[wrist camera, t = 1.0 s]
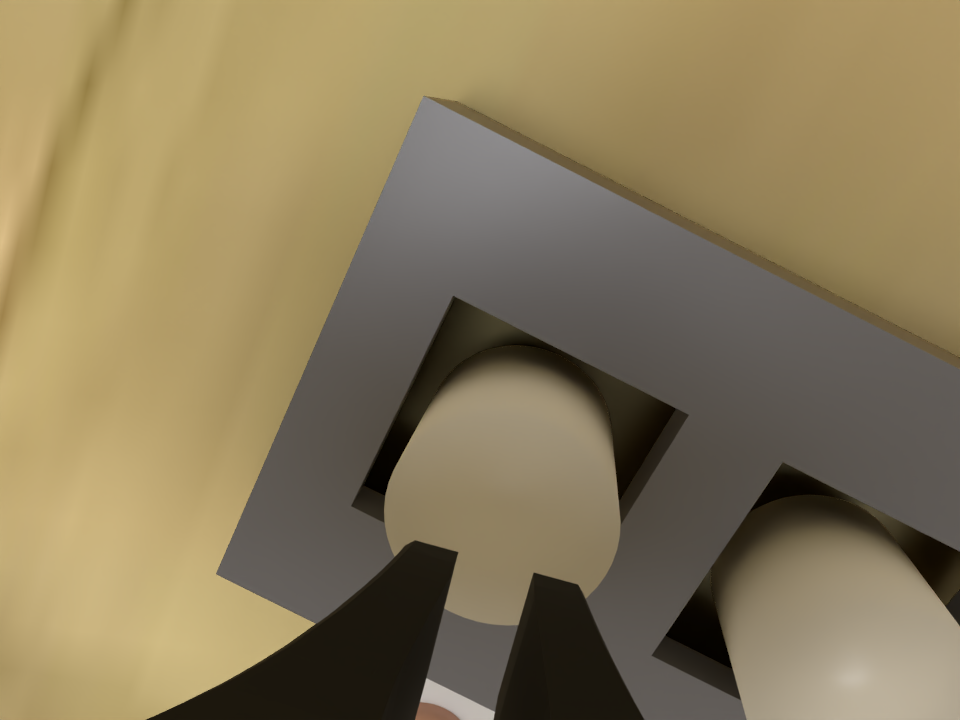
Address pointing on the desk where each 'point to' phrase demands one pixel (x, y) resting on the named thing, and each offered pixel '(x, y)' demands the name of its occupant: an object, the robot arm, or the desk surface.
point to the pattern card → (449, 705)
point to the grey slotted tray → (618, 352)
